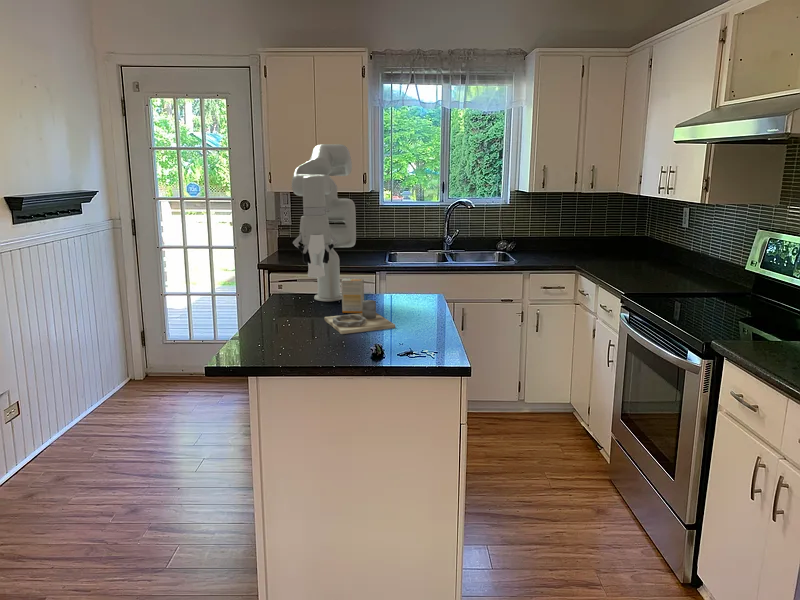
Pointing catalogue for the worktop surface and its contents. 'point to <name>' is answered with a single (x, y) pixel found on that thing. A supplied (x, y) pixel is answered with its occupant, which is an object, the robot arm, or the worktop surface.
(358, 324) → the carrier board
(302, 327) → the worktop surface
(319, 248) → the beer glass
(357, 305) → the supplement box
